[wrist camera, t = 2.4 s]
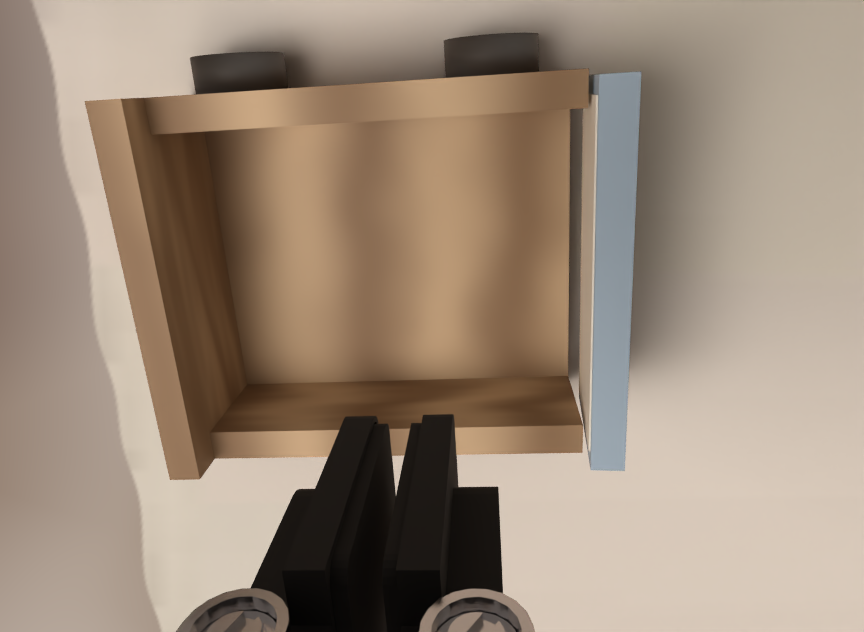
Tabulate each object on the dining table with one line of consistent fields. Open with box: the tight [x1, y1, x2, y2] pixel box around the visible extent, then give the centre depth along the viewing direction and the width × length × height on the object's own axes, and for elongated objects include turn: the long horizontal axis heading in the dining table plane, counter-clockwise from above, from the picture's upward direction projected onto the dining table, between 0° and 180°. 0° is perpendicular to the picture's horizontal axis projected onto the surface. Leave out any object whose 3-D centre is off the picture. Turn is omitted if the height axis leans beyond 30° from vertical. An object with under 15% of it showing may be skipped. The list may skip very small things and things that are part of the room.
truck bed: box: [85, 33, 589, 480], centre depth 26 cm, size 16×17×8 cm
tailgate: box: [579, 71, 641, 471], centre depth 24 cm, size 1×14×6 cm, turn 3°
